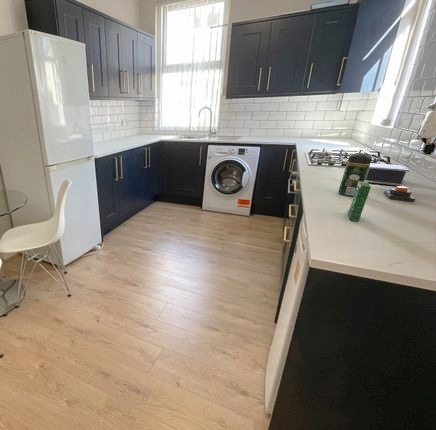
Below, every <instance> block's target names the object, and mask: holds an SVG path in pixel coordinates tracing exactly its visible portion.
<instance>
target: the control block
mask: <svg viewBox="0 0 436 430" xmlns="http://www.w3.org/2000/svg"><path fill="white" fill-rule="evenodd" d="M395 189H396V187H392V188H391V187H390V189H384V191H383V194H384V195H385V197H386V198H387V199H388V200H394V201H399V202H406V203H407V202H408V203H415V201H416V198H415V197H414V196H413V195H412V193H413V192H412V191H411V190H409V189H407V192H403V191H397V190H395Z"/></svg>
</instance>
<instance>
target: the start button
mask: <svg viewBox="0 0 436 430" xmlns="http://www.w3.org/2000/svg"><path fill="white" fill-rule="evenodd" d="M395 188H396V189H395V190H397V191H403V192H407V190H409V187H407V186H403V185H401V186H397V187H395Z"/></svg>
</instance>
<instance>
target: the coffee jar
mask: <svg viewBox="0 0 436 430" xmlns="http://www.w3.org/2000/svg"><path fill="white" fill-rule="evenodd" d="M372 159H373V157H372V156H371V155H370V154H369V153H364V152H356V153H352V154H350V155H349V156H348V159H347V162H346V165H345V168H344V171H343V175H342V177H341V181H340V185H339V188H338V194H339V195H342V196H345V197H354V194H355V191H356V188H357V185H358V182H359V181H362V182H364V181H365V182H366V180H365V178H366V175H367V172H368V169H369V166H370V163H372Z"/></svg>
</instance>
